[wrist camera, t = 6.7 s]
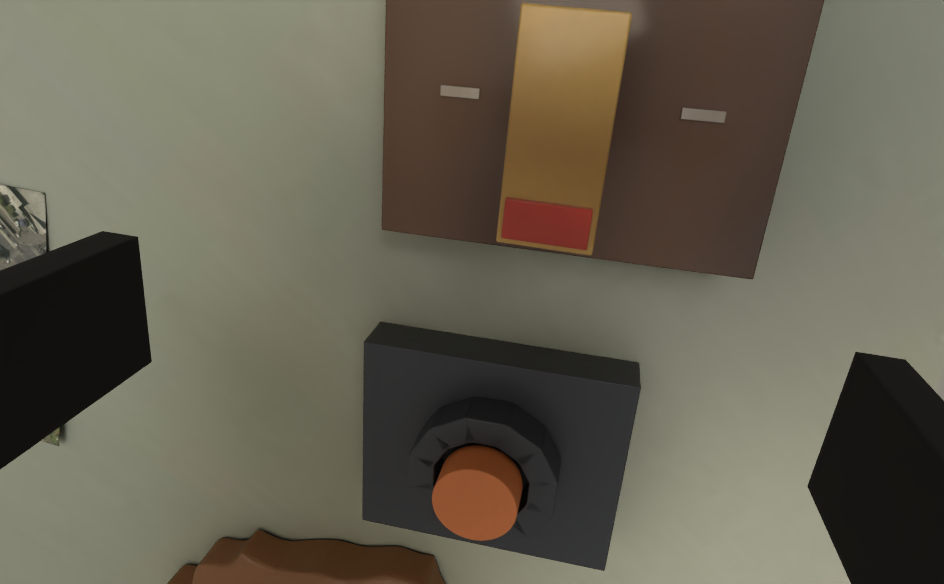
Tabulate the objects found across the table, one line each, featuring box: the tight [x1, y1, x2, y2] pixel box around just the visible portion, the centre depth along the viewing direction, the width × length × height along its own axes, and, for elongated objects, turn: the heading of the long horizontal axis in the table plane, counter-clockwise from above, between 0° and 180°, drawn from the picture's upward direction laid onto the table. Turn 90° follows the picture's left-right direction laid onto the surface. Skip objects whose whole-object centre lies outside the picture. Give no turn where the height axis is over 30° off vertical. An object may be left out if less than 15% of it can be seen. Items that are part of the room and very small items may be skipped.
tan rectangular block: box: [496, 3, 632, 255], centre depth 18 cm, size 6×2×8 cm, turn 175°
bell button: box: [432, 445, 523, 541], centre depth 27 cm, size 4×4×2 cm
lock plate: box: [382, 0, 824, 279], centre depth 24 cm, size 14×11×3 cm
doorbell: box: [363, 322, 641, 571], centre depth 30 cm, size 12×10×4 cm
